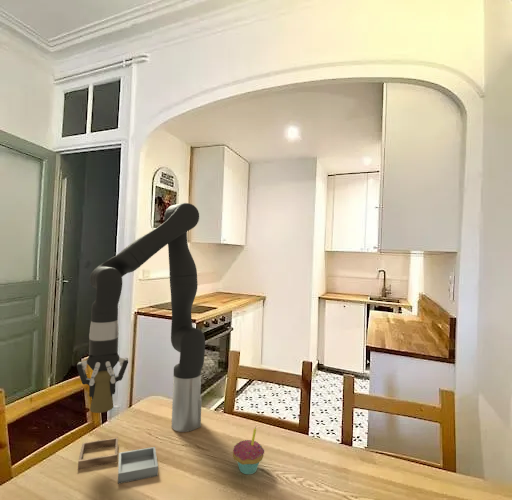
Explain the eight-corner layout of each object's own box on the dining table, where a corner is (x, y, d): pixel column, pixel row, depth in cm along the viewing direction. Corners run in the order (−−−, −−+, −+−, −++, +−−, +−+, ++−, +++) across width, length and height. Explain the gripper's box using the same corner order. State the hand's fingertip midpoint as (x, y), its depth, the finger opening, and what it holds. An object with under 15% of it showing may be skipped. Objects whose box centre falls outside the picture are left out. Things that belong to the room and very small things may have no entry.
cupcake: (267, 464, 94) (268, 420, 94) (257, 482, 86) (258, 435, 86) (238, 457, 97) (240, 415, 97) (226, 474, 89) (228, 428, 89)
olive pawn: (104, 414, 92) (105, 373, 93) (85, 411, 94) (86, 371, 94) (117, 404, 98) (118, 366, 99) (99, 402, 100) (100, 365, 100)
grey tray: (154, 455, 96) (155, 446, 96) (157, 476, 87) (158, 466, 88) (118, 461, 93) (118, 452, 93) (117, 483, 84) (118, 473, 84)
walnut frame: (117, 444, 102) (118, 437, 102) (116, 462, 93) (117, 454, 93) (82, 449, 98) (82, 442, 98) (77, 469, 89) (78, 461, 89)
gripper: (130, 332, 102) (128, 388, 102) (77, 335, 97) (76, 394, 97) (130, 337, 95) (129, 398, 95) (74, 341, 90) (72, 405, 90)
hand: (102, 396), depth 96 cm, fingers closed on olive pawn, 4 cm apart
